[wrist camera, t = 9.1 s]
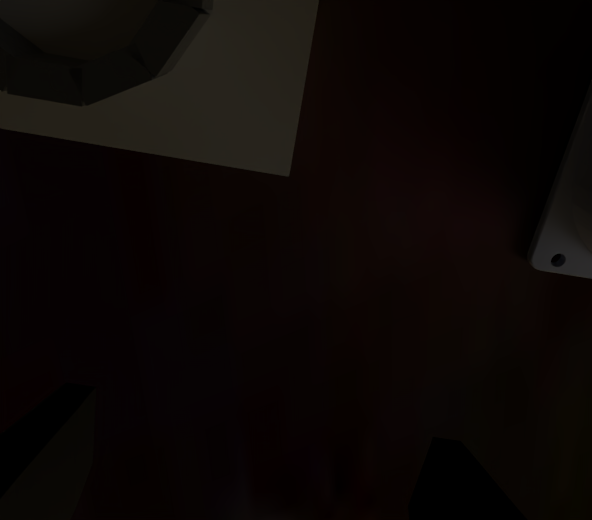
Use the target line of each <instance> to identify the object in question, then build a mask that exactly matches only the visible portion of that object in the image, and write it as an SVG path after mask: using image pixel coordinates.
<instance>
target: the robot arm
mask: <svg viewBox="0 0 592 520" xmlns="http://www.w3.org/2000/svg"><path fill="white" fill-rule="evenodd" d="M556 254H561V257H560V259H559V260H558V261H556V262H553V263H551V259H552V257H553V256H554V255H556ZM527 259H528V262H529V263H530V264H531V265H532V266H533V267H534V268H535V269H538V270H541V271H547V272H554V273H560V274H566V275H572V276H579V277H585V278H591V279H592V80H591V83H590V85H589V88H588V91H587V93H586V96H585V99H584V101H583V104H582V107H581V110H580V112H579V115H578V118H577V120H576V123H575V126H574V128H573V131H572V134H571V137H570V139H569V142H568V145H567V147H566V150H565V153H564V156H563V158H562V161H561V164H560V166H559V169H558V172H557V174H556V177H555V180H554V183H553V185H552V188H551V191H550V193H549V196H548V199H547V201H546V204H545V207H544V210H543V212H542V215H541V218H540V220H539V223H538V226H537V229H536V231H535V234H534V237H533V239H532V242H531V245H530V247H529V250H528V254H527ZM95 400H96V387H92V386H85V385H79V384H72V383H65V384H64V385H62V386H60V387H59V388H58V389H57V390H55V391H54V392H53V393H52V394H50V395H49V396H48V397H47V398H46V399H44V400H43V401H42V402H41V403H39V404H38V405H37V406H36V407H34V408H33V409H32V410H31V411H29V412H28V413H27V414H26V415H24V416H23V417H22V418H21V419H19V420H18V421H17V422H15V423H14V424H13V425H12V426H10V427H9V428H8V429H6V430H5V431H4V432H2V433H1V434H0V520H70V519H71V517H72V515H73V513H74V511H75V508H76V506H77V503H78V500H79V498H80V495H81V493H82V490H83V487H84V485H85V482H86V479H87V476H88V474H89V471H90V468H91V465H92V461H93V441H94V421H95ZM408 510H409V520H527V519H526V518H525V517H524V515H523V514H522V513H521V512H520V511H519V510H518V509H517V507H516V506H515V505H514V504H513V503H512V502H511V500H510V499H509V498H508V497H507V496H506V494H505V493H504V492H503V491H502V490H501V488H500V487H499V486H498V485H497V484H496V482H495V481H494V480H493V479H492V478H491V476H490V475H489V474H488V473H487V472H486V470H485V469H484V468H483V467H482V466H481V464H480V463H479V462H478V461H477V460H476V458H475V457H474V456H473V455H472V454H471V453H470V451H469V450H468V449H467V448H466V447H465V446H464V444H463V443H462V442H461V441H457V440H450V439H443V438H436V437H433V439H432V442H431V445H430V447H429V450H428V453H427V456H426V458H425V461H424V464H423V467H422V469H421V472H420V475H419V477H418V480H417V483H416V486H415V488H414V491H413V494H412V497H411V499H410V502H409V505H408Z"/></svg>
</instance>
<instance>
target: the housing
mask: <svg viewBox="0 0 592 520" xmlns="http://www.w3.org/2000/svg"><path fill="white" fill-rule="evenodd" d="M318 3H319V0H0V128H2V129H8V130H14V131H20V132H26V133H32V134H38V135H44V136H50V137H56V138H62V139H67V140H73V141H79V142H85V143H91V144H97V145H103V146H109V147H115V148H121V149H127V150H133V151H139V152H145V153H151V154H157V155H163V156H169V157H175V158H181V159H187V160H193V161H199V162H205V163H211V164H217V165H223V166H229V167H235V168H241V169H247V170H253V171H259V172H265V173H271V174H277V175H283V176H289V173H290V167H291V161H292V155H293V149H294V144H295V138H296V132H297V126H298V120H299V114H300V108H301V102H302V97H303V91H304V85H305V79H306V73H307V67H308V61H309V56H310V50H311V44H312V38H313V32H314V26H315V20H316V14H317V9H318Z"/></svg>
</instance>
